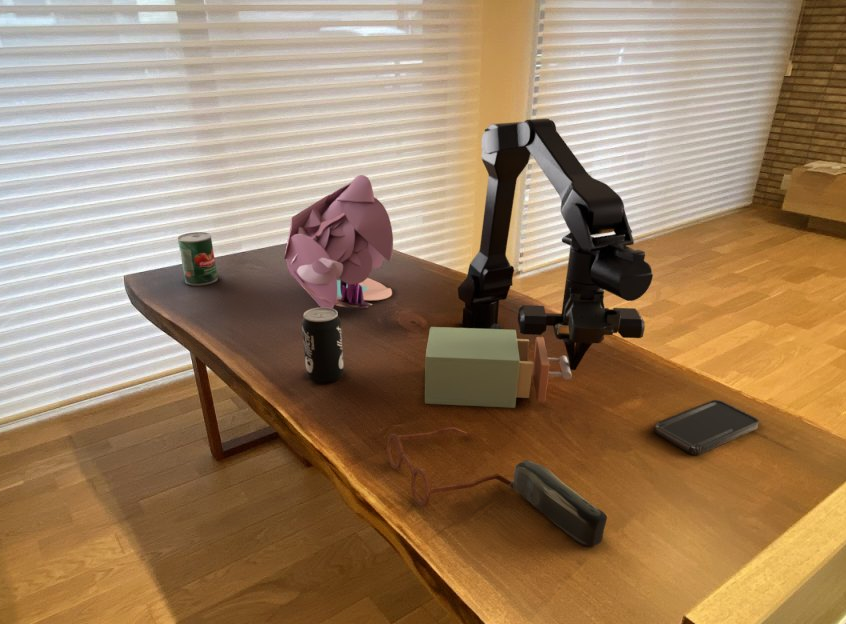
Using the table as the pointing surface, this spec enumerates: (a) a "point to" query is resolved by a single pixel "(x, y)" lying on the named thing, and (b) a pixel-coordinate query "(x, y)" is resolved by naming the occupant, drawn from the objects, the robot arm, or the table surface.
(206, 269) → the canned tomato
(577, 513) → the dark grey long block
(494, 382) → the cabinet
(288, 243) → the flower arrangement
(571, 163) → the robot arm
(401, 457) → the glasses
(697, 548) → the table surface
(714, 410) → the phone
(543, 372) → the drawer
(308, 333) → the beverage can
